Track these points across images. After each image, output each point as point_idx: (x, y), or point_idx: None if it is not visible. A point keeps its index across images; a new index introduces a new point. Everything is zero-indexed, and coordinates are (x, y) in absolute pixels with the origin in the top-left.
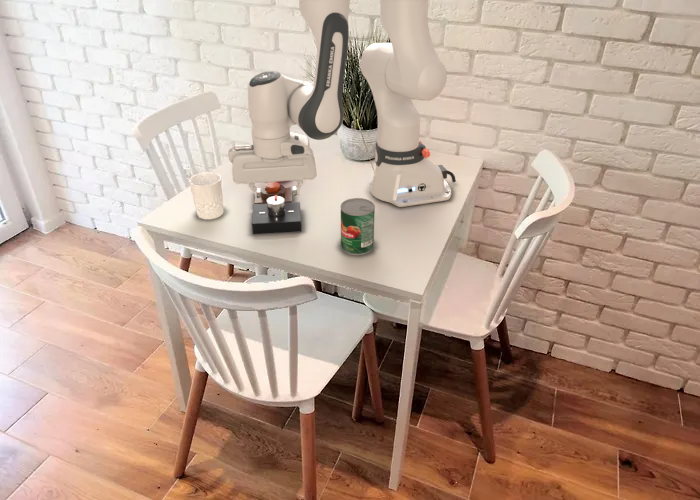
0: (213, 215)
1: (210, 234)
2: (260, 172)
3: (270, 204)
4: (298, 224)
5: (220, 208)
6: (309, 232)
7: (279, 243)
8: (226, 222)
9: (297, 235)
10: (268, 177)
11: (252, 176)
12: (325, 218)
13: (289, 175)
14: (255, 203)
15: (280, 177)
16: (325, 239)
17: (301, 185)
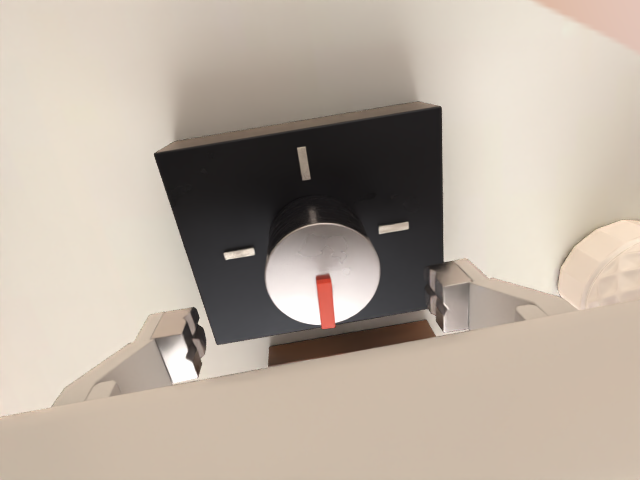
0: (613, 233)
1: (624, 89)
2: (546, 429)
3: (349, 225)
4: (174, 146)
5: (592, 272)
6: (129, 137)
7: (265, 8)
8: (545, 203)
9: (185, 102)
10: (406, 380)
11: (619, 365)
12: (91, 270)
13: (135, 440)
14: (430, 335)
15: (257, 401)
16: (14, 66)
17: (90, 371)
